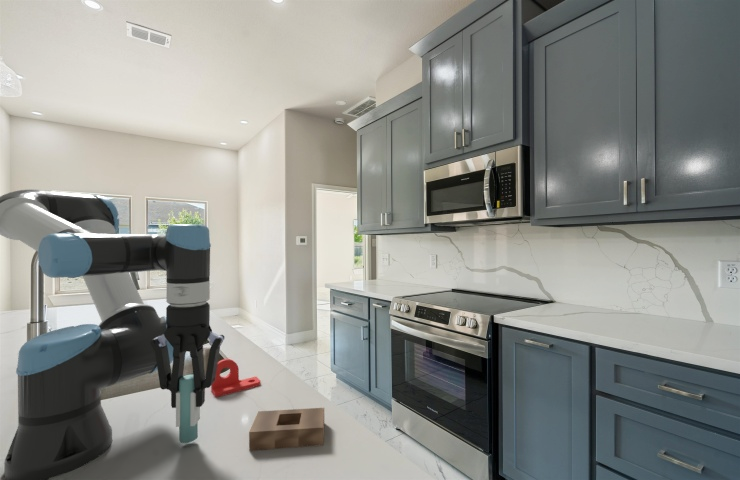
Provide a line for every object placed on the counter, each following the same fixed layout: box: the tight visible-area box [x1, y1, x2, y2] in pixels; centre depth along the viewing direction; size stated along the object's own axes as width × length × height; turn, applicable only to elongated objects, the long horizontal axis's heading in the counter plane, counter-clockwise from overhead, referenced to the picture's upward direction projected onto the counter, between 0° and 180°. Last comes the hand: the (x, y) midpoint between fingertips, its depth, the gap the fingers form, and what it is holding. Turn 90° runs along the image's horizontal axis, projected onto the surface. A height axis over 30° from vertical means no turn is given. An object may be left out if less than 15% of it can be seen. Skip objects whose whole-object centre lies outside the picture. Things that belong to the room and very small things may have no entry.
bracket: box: [210, 358, 261, 398], centre depth 94 cm, size 12×4×8 cm, turn 127°
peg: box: [178, 373, 199, 444], centre depth 68 cm, size 3×3×12 cm
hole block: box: [248, 407, 325, 451], centre depth 71 cm, size 14×8×4 cm, turn 96°
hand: (188, 422), depth 68 cm, fingers closed on peg, 2 cm apart
